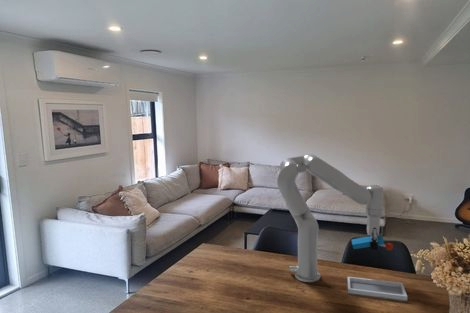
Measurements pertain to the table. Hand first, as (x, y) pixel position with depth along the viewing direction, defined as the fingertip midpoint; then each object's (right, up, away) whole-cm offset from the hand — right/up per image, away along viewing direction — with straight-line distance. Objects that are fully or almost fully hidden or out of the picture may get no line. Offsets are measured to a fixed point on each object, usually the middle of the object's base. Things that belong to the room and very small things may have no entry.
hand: (372, 246), depth 163 cm
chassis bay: (-4, -17, -12) cm, 21 cm away
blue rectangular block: (0, -1, 0) cm, 1 cm away
